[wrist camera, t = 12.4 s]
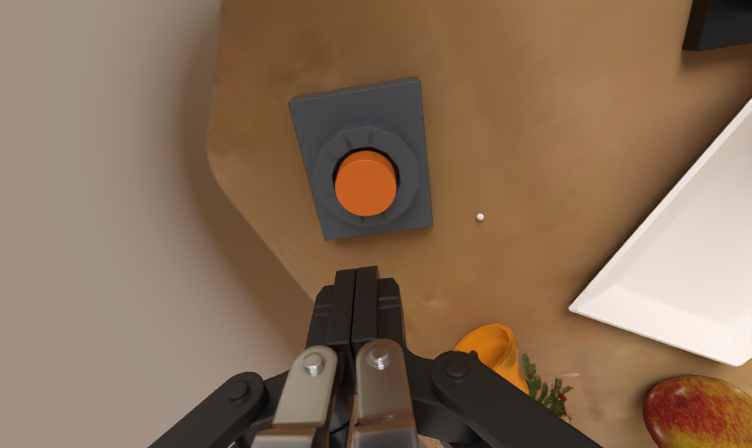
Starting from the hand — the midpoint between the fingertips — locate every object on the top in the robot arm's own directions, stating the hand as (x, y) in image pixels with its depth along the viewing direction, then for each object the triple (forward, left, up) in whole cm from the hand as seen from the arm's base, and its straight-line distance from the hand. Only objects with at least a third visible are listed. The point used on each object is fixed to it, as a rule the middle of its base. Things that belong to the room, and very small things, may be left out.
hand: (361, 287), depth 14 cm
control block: (0, 0, -14) cm, 14 cm away
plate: (+11, +27, -14) cm, 32 cm away
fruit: (+29, +27, -14) cm, 42 cm away
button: (0, 0, -11) cm, 11 cm away
